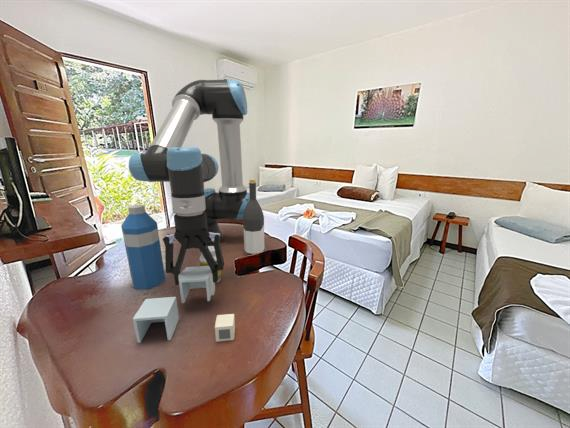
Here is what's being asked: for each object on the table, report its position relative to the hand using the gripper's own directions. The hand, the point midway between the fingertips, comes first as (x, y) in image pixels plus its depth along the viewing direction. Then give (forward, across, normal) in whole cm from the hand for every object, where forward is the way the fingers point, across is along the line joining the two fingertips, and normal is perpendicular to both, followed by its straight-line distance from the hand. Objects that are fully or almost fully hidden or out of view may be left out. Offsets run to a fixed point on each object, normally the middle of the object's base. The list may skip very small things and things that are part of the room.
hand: (198, 293), depth 66 cm
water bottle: (+4, -18, +14) cm, 23 cm away
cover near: (+4, -8, -8) cm, 12 cm away
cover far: (0, 0, 0) cm, 0 cm away
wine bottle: (+4, +16, +31) cm, 35 cm away
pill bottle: (+4, +1, +12) cm, 13 cm away
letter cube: (+4, +8, -12) cm, 15 cm away
